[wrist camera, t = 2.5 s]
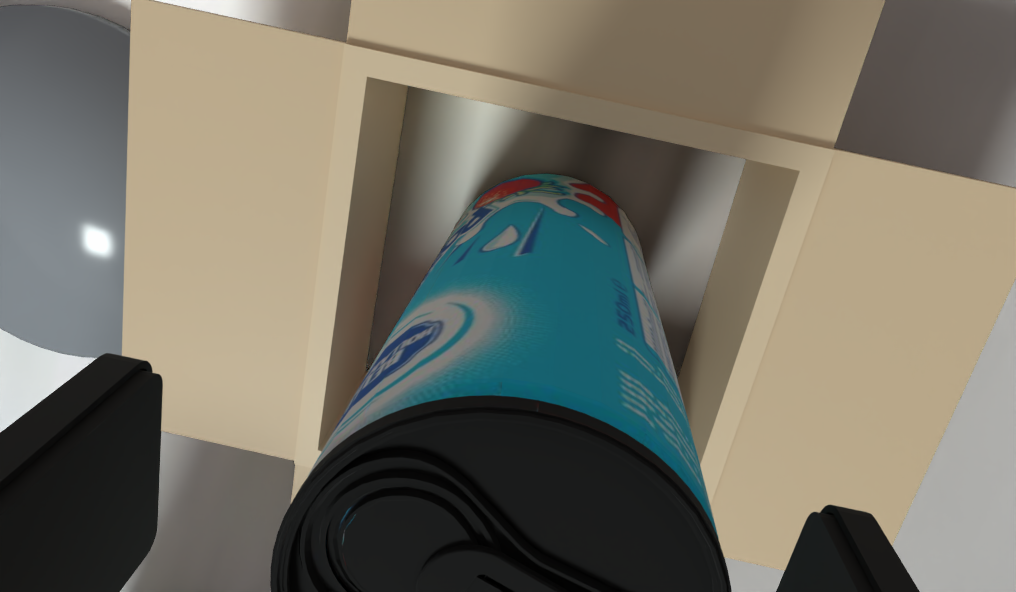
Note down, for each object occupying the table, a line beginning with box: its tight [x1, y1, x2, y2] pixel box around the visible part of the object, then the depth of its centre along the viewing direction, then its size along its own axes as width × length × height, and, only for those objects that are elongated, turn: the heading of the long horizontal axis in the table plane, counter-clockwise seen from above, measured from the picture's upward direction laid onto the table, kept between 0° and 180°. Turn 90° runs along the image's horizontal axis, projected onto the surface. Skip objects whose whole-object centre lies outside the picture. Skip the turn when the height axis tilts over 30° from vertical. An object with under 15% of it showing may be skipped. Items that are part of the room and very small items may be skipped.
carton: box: [122, 0, 1016, 571], centre depth 22 cm, size 21×21×5 cm
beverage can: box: [271, 173, 731, 592], centre depth 17 cm, size 6×6×15 cm
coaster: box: [0, 5, 130, 358], centre depth 24 cm, size 11×11×1 cm
